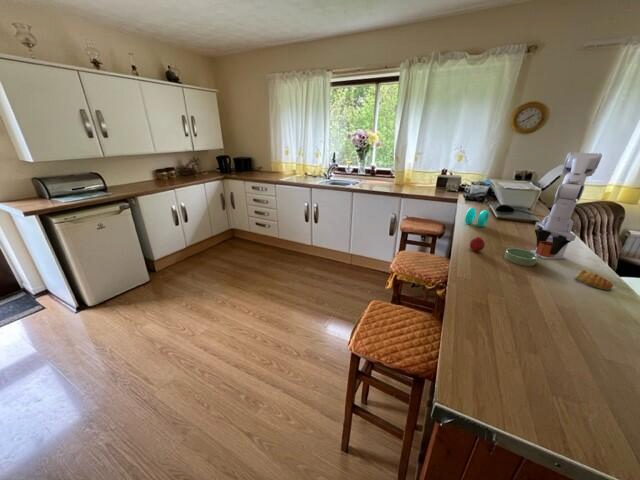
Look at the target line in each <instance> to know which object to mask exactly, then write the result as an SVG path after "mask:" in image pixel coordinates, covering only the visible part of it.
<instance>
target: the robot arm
mask: <svg viewBox="0 0 640 480" xmlns="http://www.w3.org/2000/svg"><path fill="white" fill-rule="evenodd" d="M602 157H603V154H602V152H599V153H596V152H595V153H594V152H574V151H570V152H568V153H567V155H566V158H565V160H564V164H563V167H562V174H563V175H565V176H564V178H563V180H562V182H561V183H560V184H559V185H558V187H557V190H556V193H555V196H554V200H553V205H552V207H551V210H550V213H549V215H546V216H544V218H543V220H542V221H536V222H535V224H534V227H535V228H536V229H534V232H535V237H536V248H535V249H532V250H531V249H530V250H529V251H530V252H532V253H534V254H536V253H535V252H536V250H537V247H538V244H539V242H540V241H549V242H553V244H552V248H551V251H550V254H551V255H555V256H554V257H552V258H551V259H565V257H564V254H565V252H566V250H567V247H568V244H570V243H571V242H574V241H575V240H576V237H577V235H575V234H573V233H572V232H571V231H572V229H573V225H574V221H573V220H572V218H571V217H572V215H573V212H574V210H575V208H576V205H577V203H578V202H579V201H580V200H581V198H582V195H583V193H584V191H585V186H586V185H585V183H586V180H587V178H588V177H592V176H593V175H594V174H595V172H596V170H598V168H599V165H600V162H601V160H602ZM536 255H537V256H538V257H540V258H542V259H549V258H548V257H544V256H541V255H538V254H536Z"/></svg>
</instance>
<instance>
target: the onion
mask: <svg viewBox="0 0 640 480" xmlns="http://www.w3.org/2000/svg"><path fill="white" fill-rule="evenodd" d="M481 237H482V236H481V235H477V237H474V238H472V239H471V240H470V242H469V248H470V249H471V250H472V251H473V252H475V253H476V252H477V253H478V252H480V251H482V250H484V248H485V246H486V245H485V241H484V239H483V238H481Z"/></svg>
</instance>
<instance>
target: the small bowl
mask: <svg viewBox="0 0 640 480" xmlns="http://www.w3.org/2000/svg"><path fill="white" fill-rule="evenodd" d="M552 244H553V242H549V241H540V242H539V244H538V247H537V246H536V248H537V250H536V249H535V250H536V252H535V253H536V255H537V254H538V255H537V256H539V255H541V256H544V257H548V258H547V259H553V258H552V257H554V256H555V255H551V254H550V251H551V248H552ZM535 253H534V254H535Z"/></svg>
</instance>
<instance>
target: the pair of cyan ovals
mask: <svg viewBox="0 0 640 480" xmlns="http://www.w3.org/2000/svg"><path fill="white" fill-rule="evenodd" d="M476 216H477V209H476V208H475V207H470V208H469V209H468V210H467V211H466V213H465V216H464V222H465V224H466V225H470V224H472V223H473V222H474V220H476V222H477V223H476V225H477V226H478V227H479V228H483V227H485V226H486V224H487V222H488V221H489V216H490V212H489V210H488V209H484V210H482V211H481V212H480V213H479V214H478V216H477V219H476Z"/></svg>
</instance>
